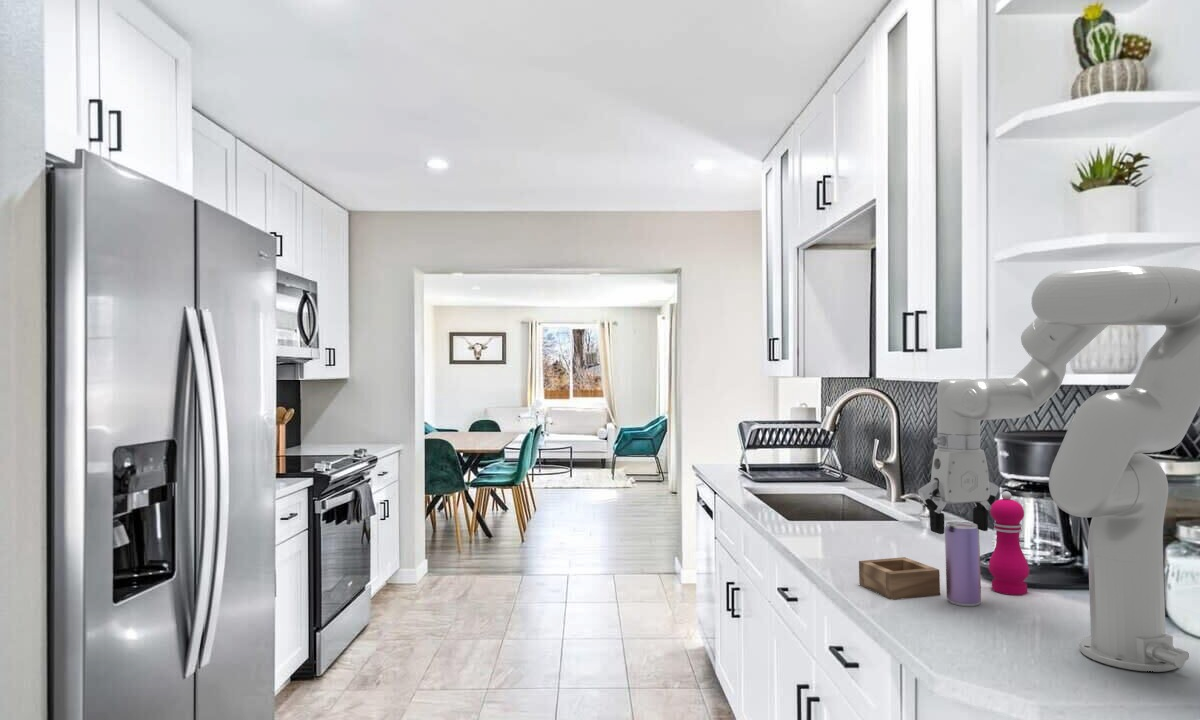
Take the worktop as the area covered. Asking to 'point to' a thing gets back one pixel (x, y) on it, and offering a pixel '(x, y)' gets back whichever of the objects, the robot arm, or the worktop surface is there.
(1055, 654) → the worktop surface
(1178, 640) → the worktop surface
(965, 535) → the beverage can
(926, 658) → the worktop surface
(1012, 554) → the pepper mill
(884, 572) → the holder
